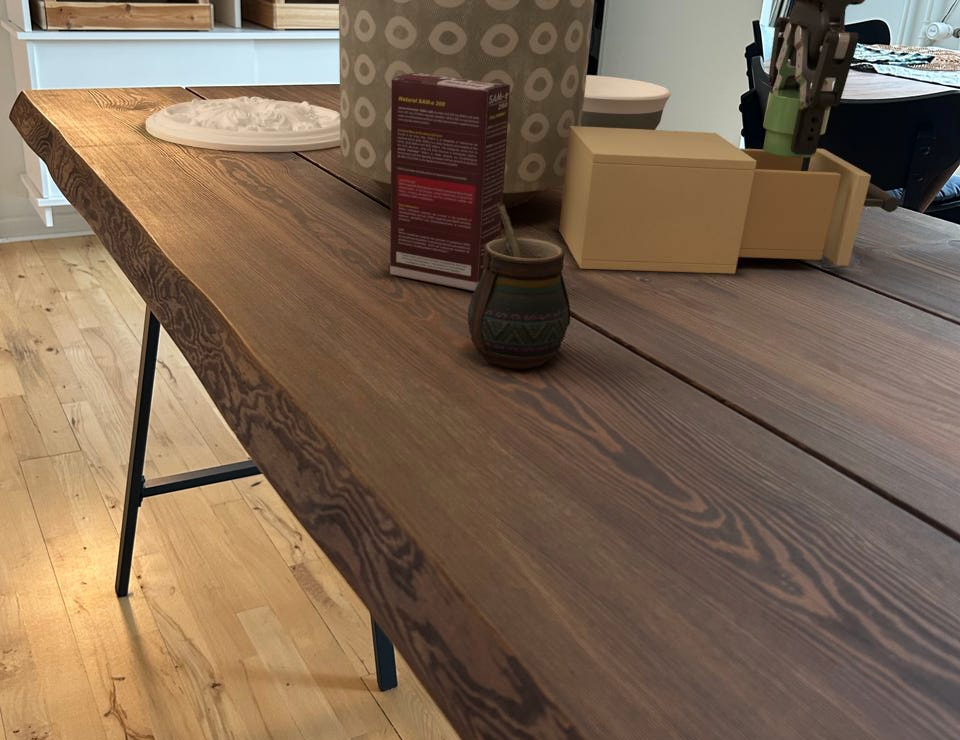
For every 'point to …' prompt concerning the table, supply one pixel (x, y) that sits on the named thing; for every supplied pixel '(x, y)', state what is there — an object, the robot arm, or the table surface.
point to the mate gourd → (519, 301)
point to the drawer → (807, 207)
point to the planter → (467, 76)
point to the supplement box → (446, 176)
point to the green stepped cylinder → (783, 122)
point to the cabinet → (654, 200)
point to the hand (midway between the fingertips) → (790, 146)
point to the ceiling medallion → (247, 125)
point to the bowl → (622, 103)
